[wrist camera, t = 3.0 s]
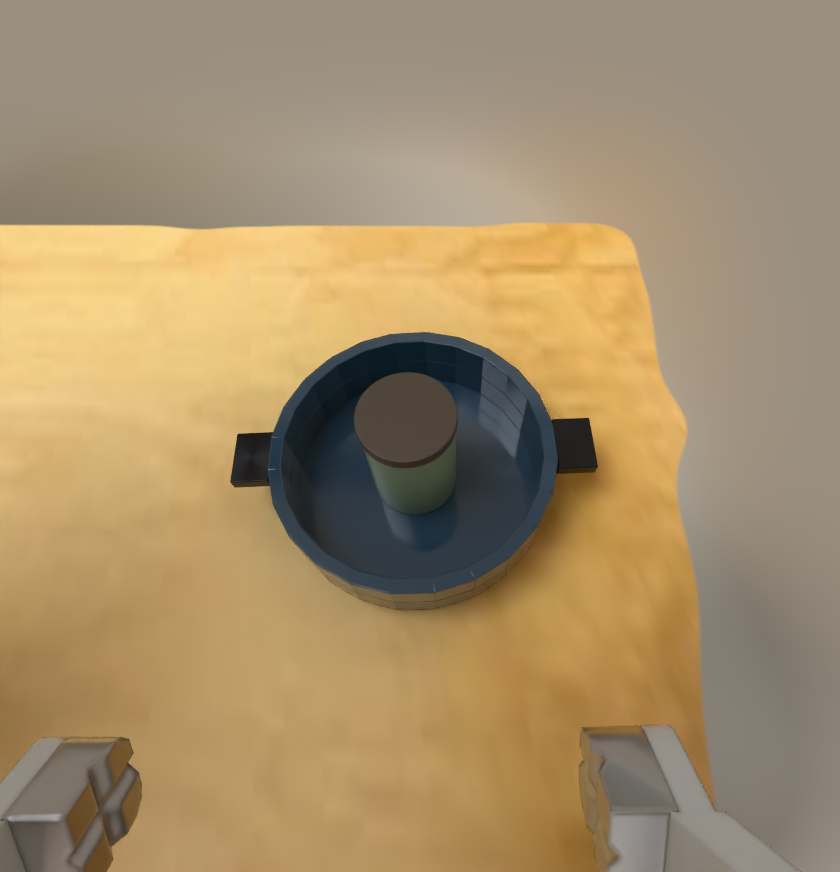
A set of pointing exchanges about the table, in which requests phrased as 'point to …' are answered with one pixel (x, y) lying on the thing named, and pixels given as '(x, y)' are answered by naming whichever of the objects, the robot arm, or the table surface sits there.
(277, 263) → the table surface
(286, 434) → the pot
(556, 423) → the pot ear handles
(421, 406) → the canister
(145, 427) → the table surface
